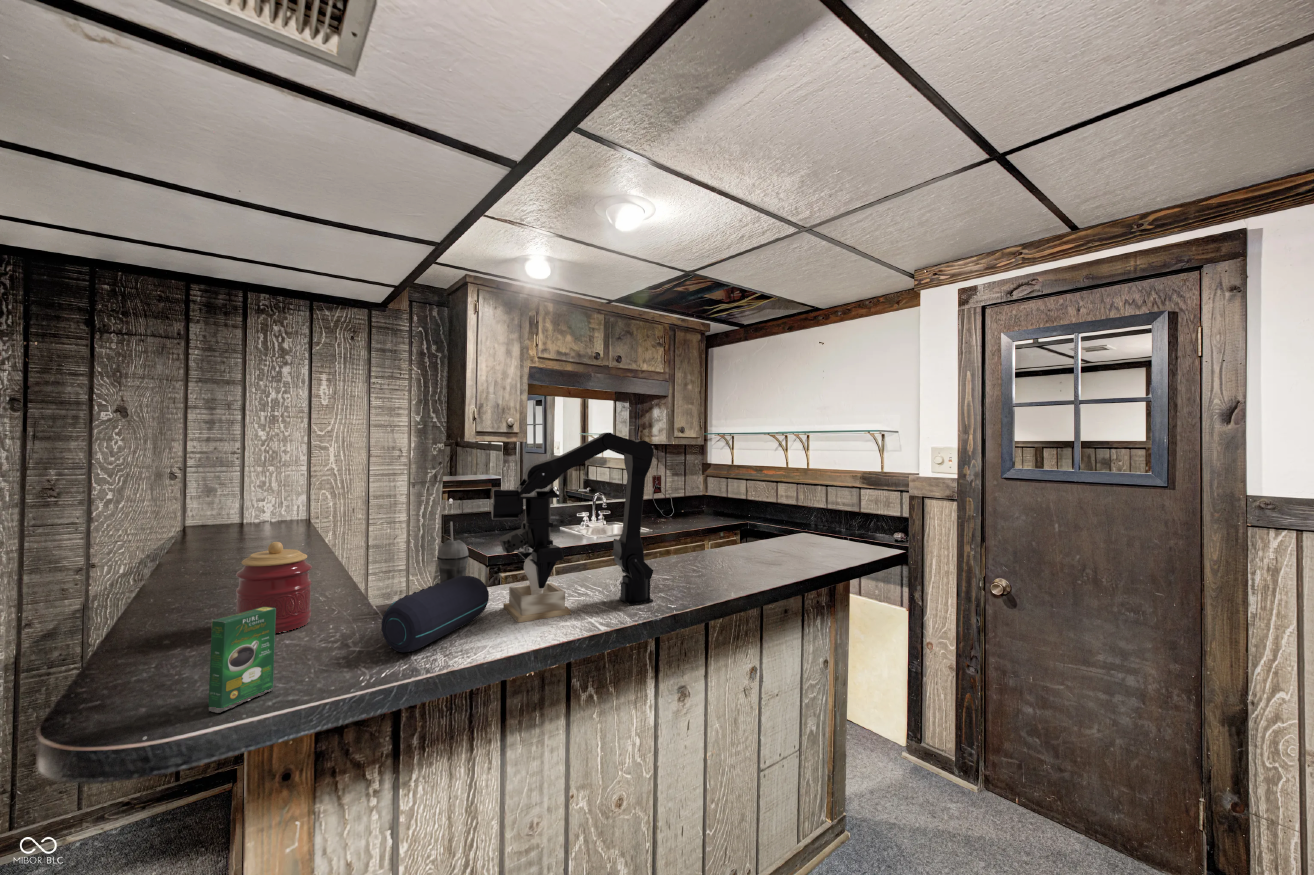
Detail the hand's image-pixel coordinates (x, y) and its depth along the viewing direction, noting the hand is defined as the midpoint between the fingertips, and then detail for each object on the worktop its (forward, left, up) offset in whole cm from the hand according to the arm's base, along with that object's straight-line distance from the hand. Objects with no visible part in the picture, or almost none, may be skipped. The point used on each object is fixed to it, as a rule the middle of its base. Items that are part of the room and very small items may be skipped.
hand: (537, 585), depth 126 cm
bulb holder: (0, 0, -6) cm, 6 cm away
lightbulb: (0, 0, -4) cm, 4 cm away
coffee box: (+52, +21, -6) cm, 56 cm away
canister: (+51, -16, -6) cm, 54 cm away
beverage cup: (+16, -14, -6) cm, 22 cm away
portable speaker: (+22, +5, -6) cm, 24 cm away
